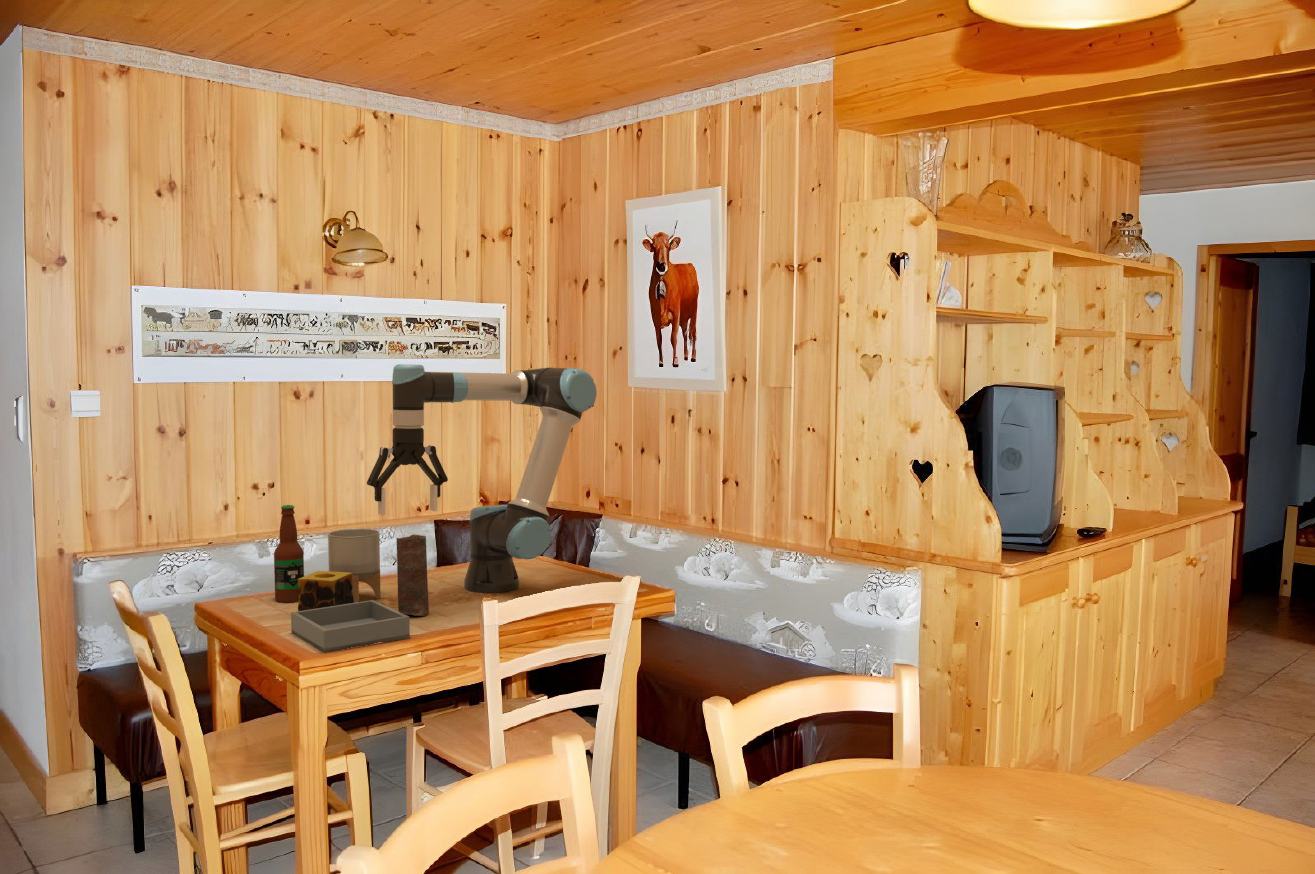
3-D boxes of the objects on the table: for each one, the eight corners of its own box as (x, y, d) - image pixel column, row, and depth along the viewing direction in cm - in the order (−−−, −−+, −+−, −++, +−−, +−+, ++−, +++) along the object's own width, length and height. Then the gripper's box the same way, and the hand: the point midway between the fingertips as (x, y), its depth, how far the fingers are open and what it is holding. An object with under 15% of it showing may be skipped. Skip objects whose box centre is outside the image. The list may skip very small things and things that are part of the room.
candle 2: (401, 619, 256) (400, 538, 254) (394, 612, 262) (393, 533, 261) (432, 616, 259) (431, 536, 258) (424, 609, 266) (423, 531, 264)
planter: (328, 595, 280) (327, 529, 279) (379, 592, 284) (377, 527, 283) (329, 606, 268) (328, 538, 267) (381, 603, 272) (380, 535, 271)
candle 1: (334, 621, 254) (334, 580, 253) (296, 618, 256) (296, 578, 255) (355, 611, 264) (354, 572, 263) (318, 608, 266) (317, 570, 265)
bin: (373, 620, 255) (373, 599, 255) (409, 638, 240) (409, 616, 239) (291, 633, 243) (290, 612, 242) (324, 653, 227) (323, 630, 227)
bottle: (276, 604, 270) (273, 508, 268) (274, 598, 276) (271, 504, 274) (306, 602, 273) (303, 506, 271) (303, 595, 279) (301, 503, 277)
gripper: (448, 425, 268) (447, 507, 270) (353, 427, 254) (353, 514, 255) (461, 426, 262) (460, 510, 264) (364, 429, 248) (364, 518, 249)
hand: (408, 512), depth 260 cm, fingers open, 13 cm apart
